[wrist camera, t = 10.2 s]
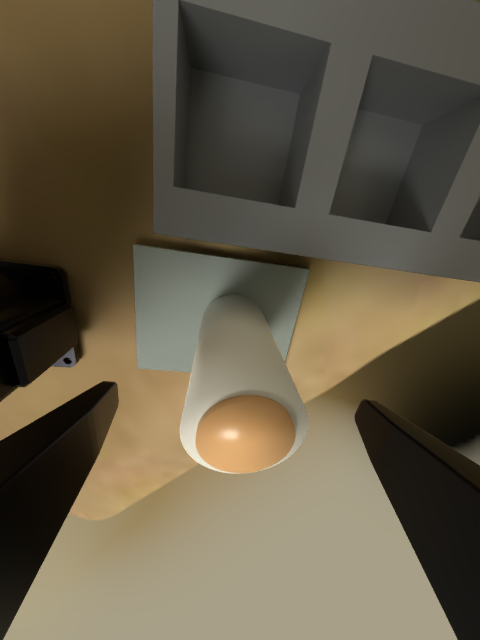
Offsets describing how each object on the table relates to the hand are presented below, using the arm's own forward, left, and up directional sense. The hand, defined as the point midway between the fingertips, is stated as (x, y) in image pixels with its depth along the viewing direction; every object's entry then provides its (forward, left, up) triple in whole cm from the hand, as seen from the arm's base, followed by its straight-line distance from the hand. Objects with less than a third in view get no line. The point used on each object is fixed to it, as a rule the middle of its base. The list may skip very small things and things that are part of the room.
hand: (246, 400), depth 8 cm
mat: (-1, 0, -7) cm, 7 cm away
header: (+5, +9, -7) cm, 12 cm away
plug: (0, 0, -7) cm, 7 cm away
